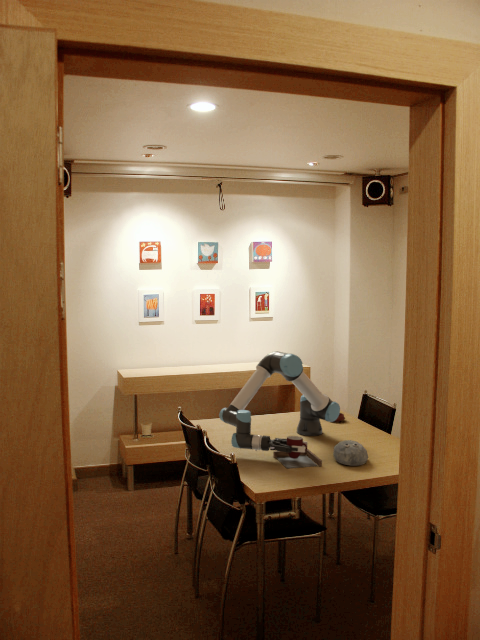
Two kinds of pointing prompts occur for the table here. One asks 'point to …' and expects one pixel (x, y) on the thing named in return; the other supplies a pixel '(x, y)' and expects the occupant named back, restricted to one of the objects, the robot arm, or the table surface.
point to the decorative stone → (350, 453)
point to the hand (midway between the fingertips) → (306, 447)
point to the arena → (298, 459)
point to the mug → (295, 442)
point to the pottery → (340, 418)
